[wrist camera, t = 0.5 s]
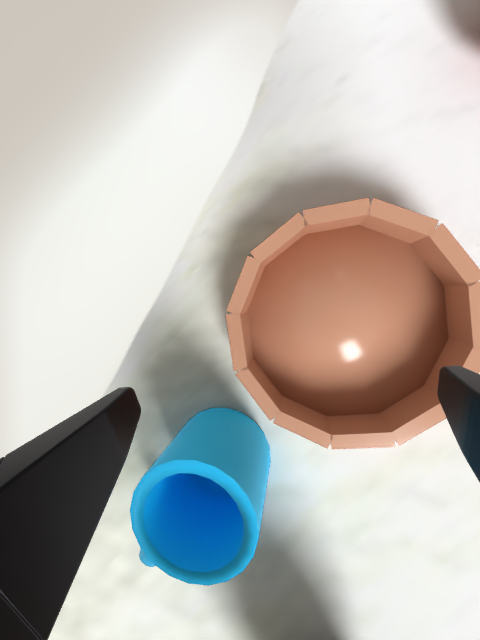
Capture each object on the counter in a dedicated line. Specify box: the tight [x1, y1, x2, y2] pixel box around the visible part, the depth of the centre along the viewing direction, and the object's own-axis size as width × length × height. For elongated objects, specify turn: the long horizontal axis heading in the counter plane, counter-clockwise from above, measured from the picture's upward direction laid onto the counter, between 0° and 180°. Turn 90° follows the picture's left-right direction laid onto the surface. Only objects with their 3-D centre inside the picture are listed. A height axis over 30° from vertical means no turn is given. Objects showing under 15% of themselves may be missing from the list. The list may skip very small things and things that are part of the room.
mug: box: [130, 408, 270, 585], centre depth 23 cm, size 12×8×8 cm
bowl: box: [226, 198, 480, 449], centre depth 22 cm, size 16×16×4 cm
